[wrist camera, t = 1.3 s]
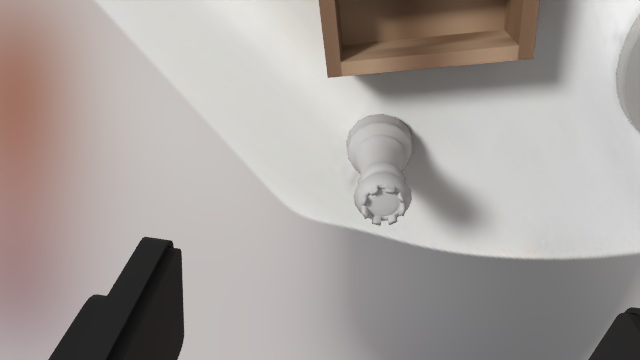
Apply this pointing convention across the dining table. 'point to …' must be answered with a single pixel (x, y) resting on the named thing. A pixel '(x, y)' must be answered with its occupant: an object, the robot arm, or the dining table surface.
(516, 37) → the walled box
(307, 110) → the dining table surface
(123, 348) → the robot arm
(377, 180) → the rook chess piece
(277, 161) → the dining table surface
